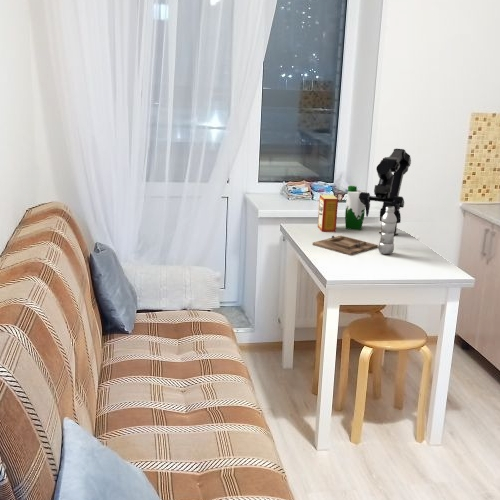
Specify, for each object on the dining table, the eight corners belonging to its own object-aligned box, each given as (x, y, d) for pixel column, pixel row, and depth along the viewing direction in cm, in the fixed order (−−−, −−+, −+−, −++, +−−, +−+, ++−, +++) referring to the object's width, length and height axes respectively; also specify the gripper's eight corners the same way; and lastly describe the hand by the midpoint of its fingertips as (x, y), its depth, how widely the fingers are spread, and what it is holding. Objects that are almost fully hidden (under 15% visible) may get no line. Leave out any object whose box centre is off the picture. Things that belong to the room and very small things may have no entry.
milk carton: (344, 224, 322) (348, 184, 317) (363, 226, 321) (367, 186, 315) (343, 229, 314) (346, 187, 309) (362, 230, 313) (366, 189, 307)
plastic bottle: (392, 251, 279) (397, 205, 274) (394, 256, 273) (399, 209, 267) (377, 250, 280) (381, 204, 274) (378, 255, 273) (383, 208, 268)
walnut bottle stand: (340, 237, 299) (341, 231, 298) (377, 247, 285) (378, 240, 285) (312, 244, 285) (313, 238, 284) (350, 255, 272) (350, 248, 271)
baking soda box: (317, 226, 317) (319, 194, 312) (330, 226, 318) (333, 194, 313) (322, 231, 308) (324, 198, 303) (335, 231, 309) (338, 198, 304)
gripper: (360, 174, 282) (352, 207, 277) (404, 178, 274) (397, 213, 270) (365, 185, 291) (357, 217, 287) (407, 190, 284) (400, 223, 280)
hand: (377, 217), depth 281 cm, fingers open, 9 cm apart
